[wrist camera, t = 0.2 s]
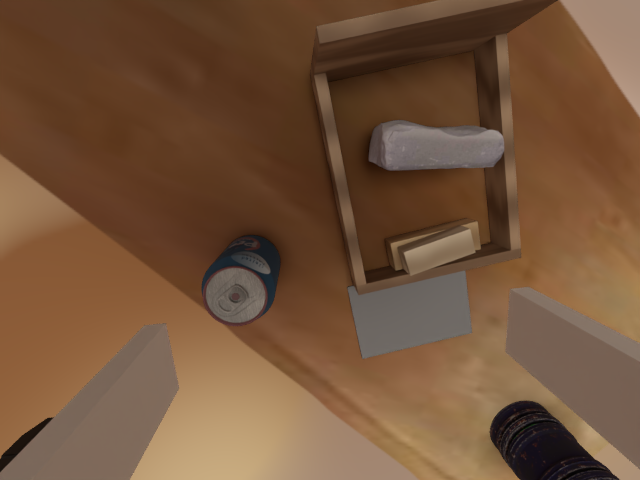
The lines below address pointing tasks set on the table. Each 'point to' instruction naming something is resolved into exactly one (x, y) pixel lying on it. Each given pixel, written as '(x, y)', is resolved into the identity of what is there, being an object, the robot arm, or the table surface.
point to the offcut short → (436, 249)
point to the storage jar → (542, 446)
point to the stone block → (433, 146)
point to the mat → (411, 314)
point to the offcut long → (415, 235)
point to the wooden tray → (412, 47)
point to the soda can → (242, 281)
